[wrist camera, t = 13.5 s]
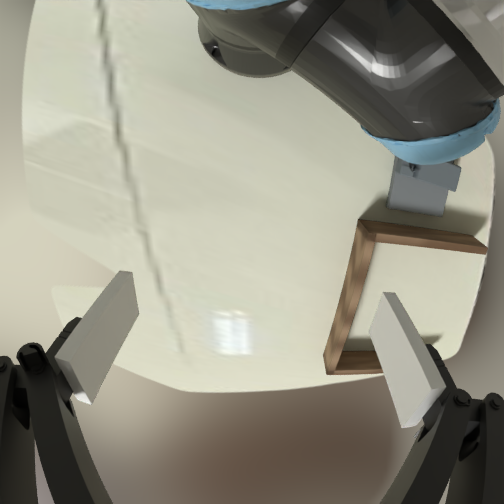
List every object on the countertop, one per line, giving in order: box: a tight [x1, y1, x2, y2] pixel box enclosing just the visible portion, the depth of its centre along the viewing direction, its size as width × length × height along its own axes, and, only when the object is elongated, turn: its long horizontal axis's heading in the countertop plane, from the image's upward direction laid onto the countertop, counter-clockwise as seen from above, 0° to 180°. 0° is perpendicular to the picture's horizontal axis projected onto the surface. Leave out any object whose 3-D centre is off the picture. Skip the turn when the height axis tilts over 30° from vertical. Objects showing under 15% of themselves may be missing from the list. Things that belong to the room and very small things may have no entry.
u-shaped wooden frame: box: [323, 219, 488, 375], centre depth 43 cm, size 27×23×5 cm
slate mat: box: [386, 156, 454, 217], centre depth 35 cm, size 14×10×1 cm
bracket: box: [395, 158, 461, 192], centre depth 34 cm, size 4×10×2 cm, turn 83°
